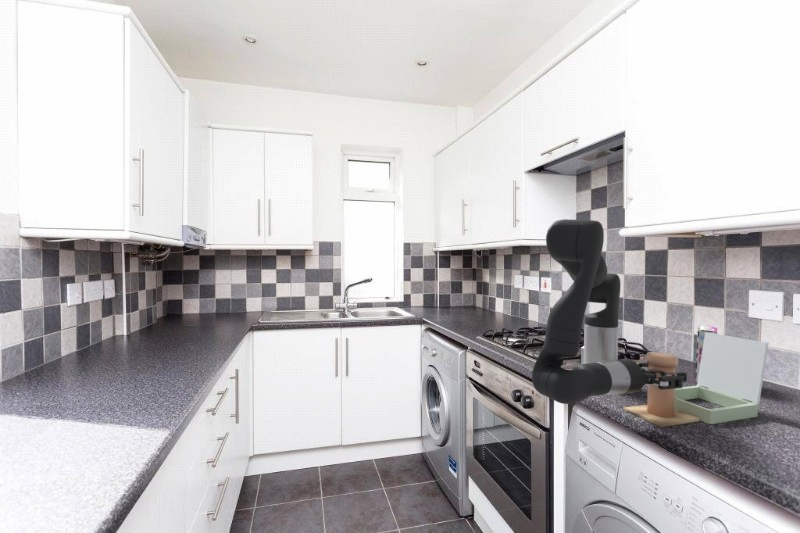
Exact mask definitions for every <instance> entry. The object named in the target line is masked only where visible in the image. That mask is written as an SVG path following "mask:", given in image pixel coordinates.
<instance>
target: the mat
mask: <svg viewBox="0 0 800 533" xmlns="http://www.w3.org/2000/svg"><path fill="white" fill-rule="evenodd" d="M623 411H625V412H627V413H629V414H631V415H634V416H636V417H638V418H640V419H643V420H646V421H647V422H649V423H651V424H653V425H655V426H658V427H660V428H665V427H670V426H675V425H676V426H677V425H684V424H690V423H696V422H700V421H701V420H700V418H697V417H695V416H692V415H690V414H687V413H685V412H682V411H679V410H677V409H674V417H671V418H666V417H659V416H656V415H653V414H650V413H649V412H648V411H647V404H640V405H632V406H625V407H623Z"/></svg>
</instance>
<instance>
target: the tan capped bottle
mask: <svg viewBox="0 0 800 533" xmlns="http://www.w3.org/2000/svg"><path fill="white" fill-rule="evenodd" d="M646 362H647V363H649V365H648V368H649V369H658V370H663V371H664V372H667V373H677V372H676V371H677V370H676V368H678V365H679V357H678V356H677V355H675V354H671V353H666V352H658V351H650V352H649V351H648V352H647V353H646ZM659 377H660V373H656V378H657V379H659ZM646 398H647V399H646V401H647V404H646V405H647V411H648V412H649V413H650V414H653V415H656V416H659V417H666V418H671V417H674V402H675V389H664V390H661V389H659V388H658V386H657V385H649V386H647V397H646Z"/></svg>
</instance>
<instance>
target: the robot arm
mask: <svg viewBox="0 0 800 533" xmlns="http://www.w3.org/2000/svg"><path fill="white" fill-rule="evenodd" d="M545 235H546V236H545V243H546V248H547V251H548V253H549V254H548V255H550V257H551V258H552V259H553V260H554V261H555V262H557V263H558V264H559V265H561V266H562V267H563V268H564V269H565V270H566V272H567V274H568V276H569V277H570V278H571V280H572V281H573V283H572V284H571V285H570V286H569V288H568V289H567V290H566V291H565V292H564V293H563V295H561V297H560V298H559V299H558V300H557V301H556V303H554V305H553V306H552V308H551V310H550V312H549V315H548V317H547V321H546V322H547V323H546V329H545V338H544V343H543V345H542V347H541V349H540V351H539V354H538V355H537V358H536V361H535V363H534V364H533V368H532V372H531V381H532V386H533V387H534V389H535V391H537V393H539V394H540V395H543V396H545V397H547V398H549V399H551V400H553V401H555V402H557V403H560V404H561V405H563V404H565V405H572V404H573V405H574V404H578V403H579V402H581V401H583V400H584V401H585V400H586V399H588V398H590V397H594V396H595V397H597V396H604V395H607V396H614V395H622V394H623V395H624V394H630V393H631V394H632V393H637V392H640V391H641V389H642V388H643V387H644V386H647V387H648V386H649V385H657V386H658V388H659V389H661V390H664V389H676V388H682V387H683V383H687V382H688V373H687V372H683V371H679V372H676V373H667V372H664V371H663V370H658V369H649V368H648V365H649V363H647V361H646V362H638V361H634V360H632V359H629V358H622V359H618V352H619V348H618V347H619V344H618V343H619V312H620V311H619V306H620V297H621V285H622V284H621V279H620V276H619V275H618V274H616V273H609V272H608V266H607V264H606V260H605V258H604V257H603V256H602V253H603V252H602V251H603V248H604V241H605V240H604V239H605V232H604V226H603V224H602V223H601V222H600V221H599V220H593V219H592V220H589V219H566V218H565V219H558V220H555V221H553V222H552V223H551V224H550V226H549V227H548V229H547V231H546V234H545ZM588 303H593V304H596V303H597V304H606V307H605V308H603V309H602V310H598V311H596V312H592V313H588V314H586V310H587V306H588ZM585 314H586V315H585ZM583 323H584V328H583ZM582 329H583V330H584V331H583V332H584V333H583V334H584V335H583V337H584V338H583V346H581V348H580V342H581V337H582V336H581V335H582ZM579 349H581V354H580V356H581V357H580V364H576V365H575V366H574V367H573V368H572V369H565V368H563V367H562V365H563V363H564V361H565V359H566V358H569V359H570V358H571V359H572V358H574V357H575V358H576V356H577V355H578V353H579ZM656 373H660V377H659V379H657V378H656Z"/></svg>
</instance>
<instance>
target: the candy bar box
mask: <svg viewBox="0 0 800 533" xmlns="http://www.w3.org/2000/svg"><path fill="white" fill-rule="evenodd" d="M705 332H709V333H715V334H718V328H717V327H715V326H714V327H713V326H706V325H698V327H697V332H696V333H697V335H696V337H697V338H696V357H695V358H696V359H695V360H696V361H695V362H696V363H695V376H694V377H695V378H694V381H695V382H696V383H697V381H698V374H699V368H700V362H701V356H702V349H703V343H704V337H705Z"/></svg>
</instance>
